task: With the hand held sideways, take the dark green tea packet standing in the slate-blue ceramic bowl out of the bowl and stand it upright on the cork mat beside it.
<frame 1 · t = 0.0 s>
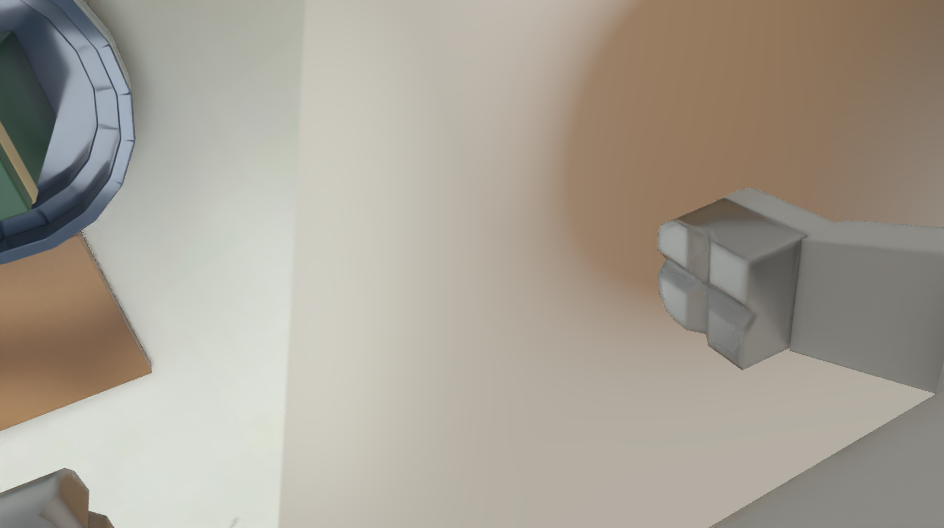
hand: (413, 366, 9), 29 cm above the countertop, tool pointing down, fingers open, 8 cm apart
cork mat: (26, 333, 35), on the countertop
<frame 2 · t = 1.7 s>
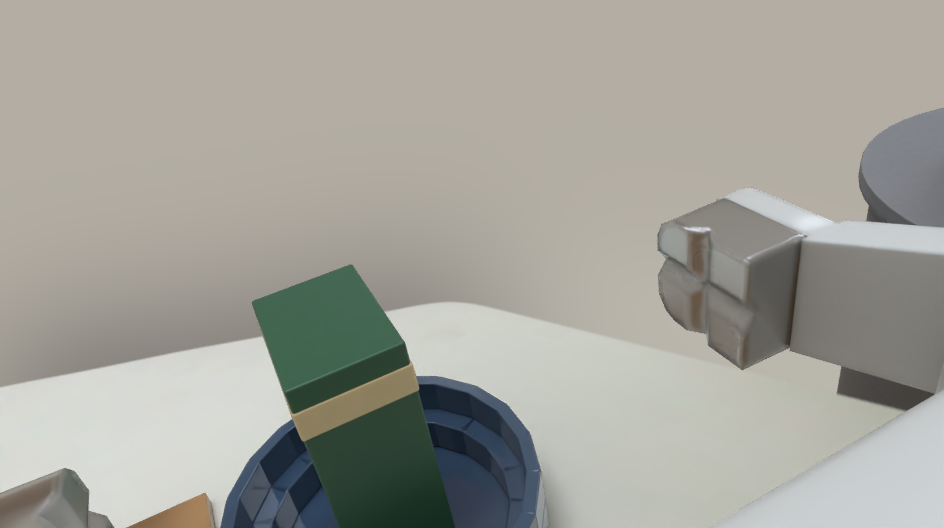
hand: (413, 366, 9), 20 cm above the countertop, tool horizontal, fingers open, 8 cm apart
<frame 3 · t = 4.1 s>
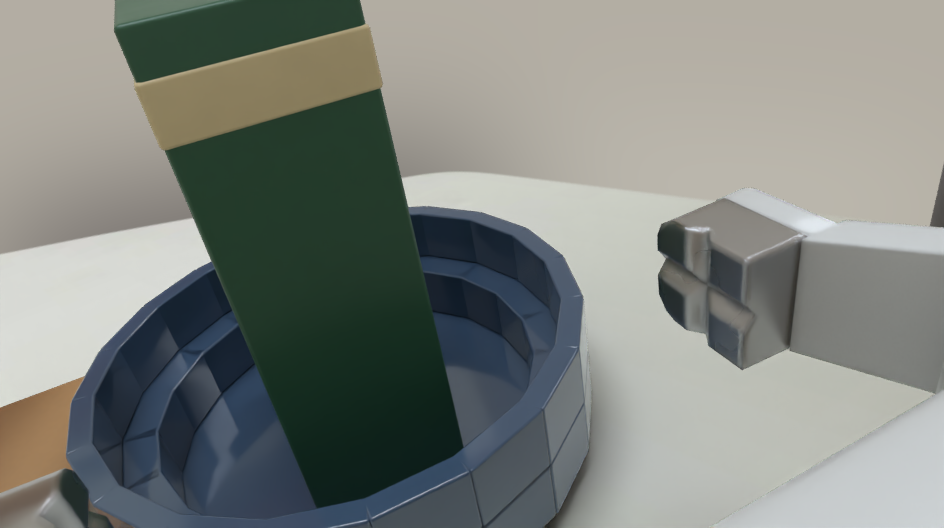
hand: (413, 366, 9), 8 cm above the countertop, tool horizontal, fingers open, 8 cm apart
tea packet: (362, 416, 20), point 1 cm above the countertop, touching bowl
bowl: (367, 430, 20), on the countertop
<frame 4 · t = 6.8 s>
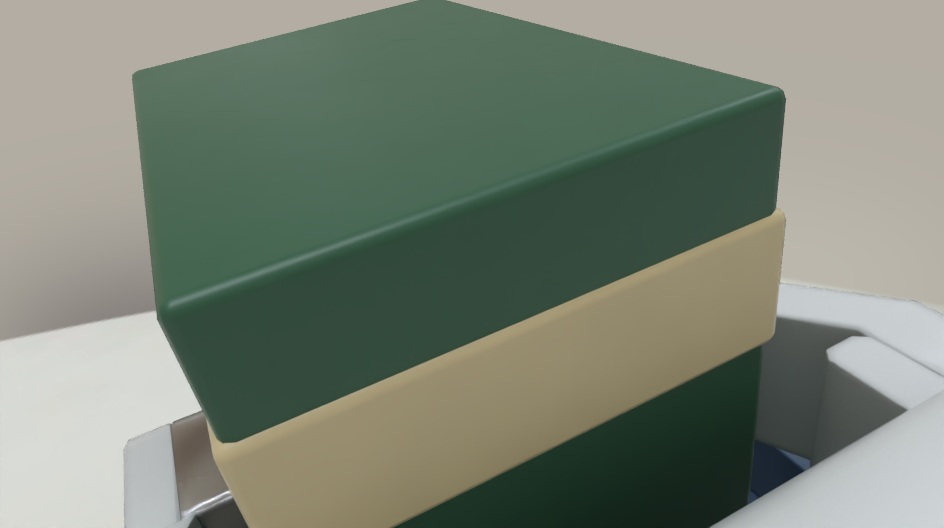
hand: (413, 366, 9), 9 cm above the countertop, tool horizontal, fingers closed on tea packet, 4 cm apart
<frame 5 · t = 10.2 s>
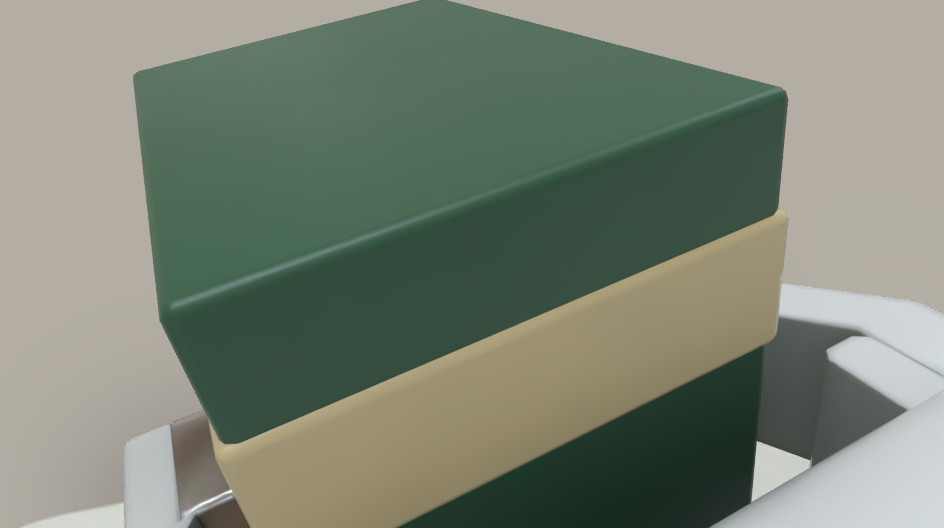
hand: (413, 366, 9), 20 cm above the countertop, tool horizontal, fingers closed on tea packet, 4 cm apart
when the fingers open (9 cm above the countertop, at t = 14.1 s): tea packet stays where it is, resting on cork mat.
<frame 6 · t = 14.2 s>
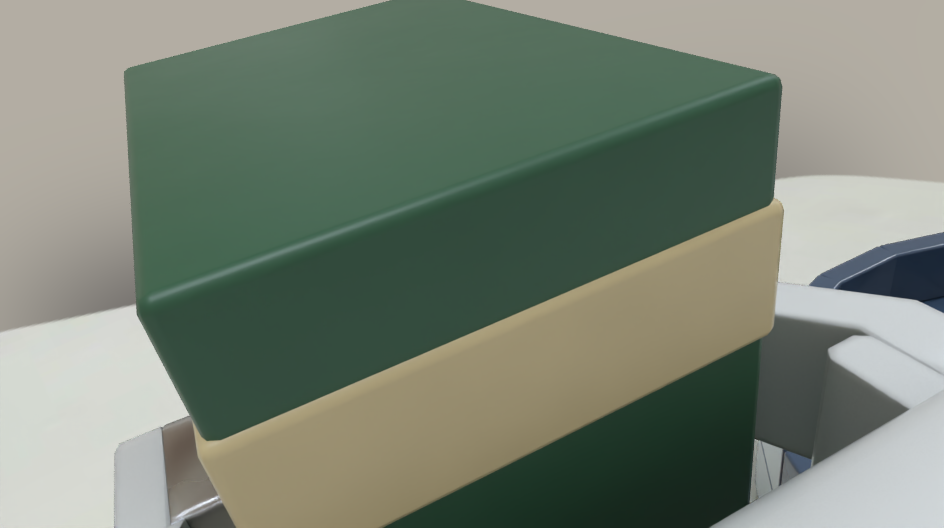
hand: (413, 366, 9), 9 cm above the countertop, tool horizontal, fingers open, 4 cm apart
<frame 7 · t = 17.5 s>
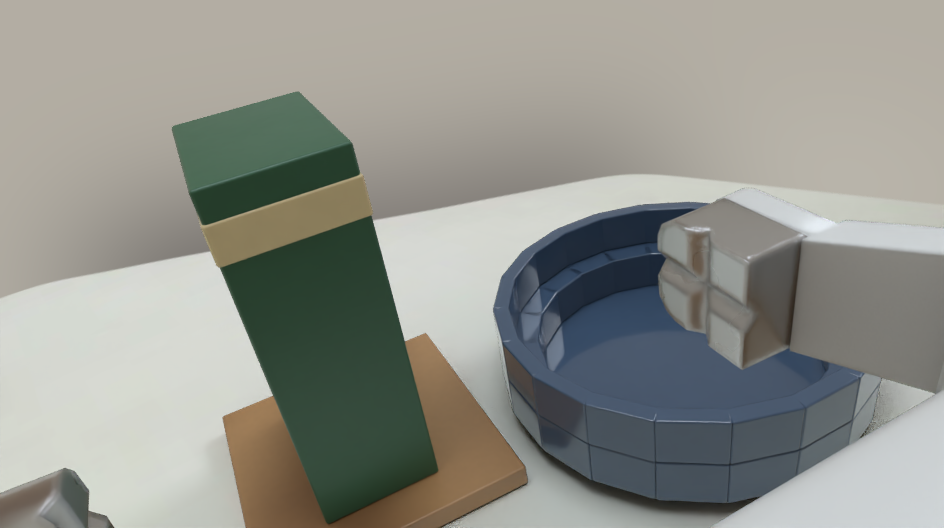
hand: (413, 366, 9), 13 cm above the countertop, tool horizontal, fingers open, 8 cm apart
cork mat: (364, 454, 25), on the countertop
tea packet: (358, 441, 25), point 1 cm above the countertop, touching cork mat
bowl: (676, 372, 26), on the countertop
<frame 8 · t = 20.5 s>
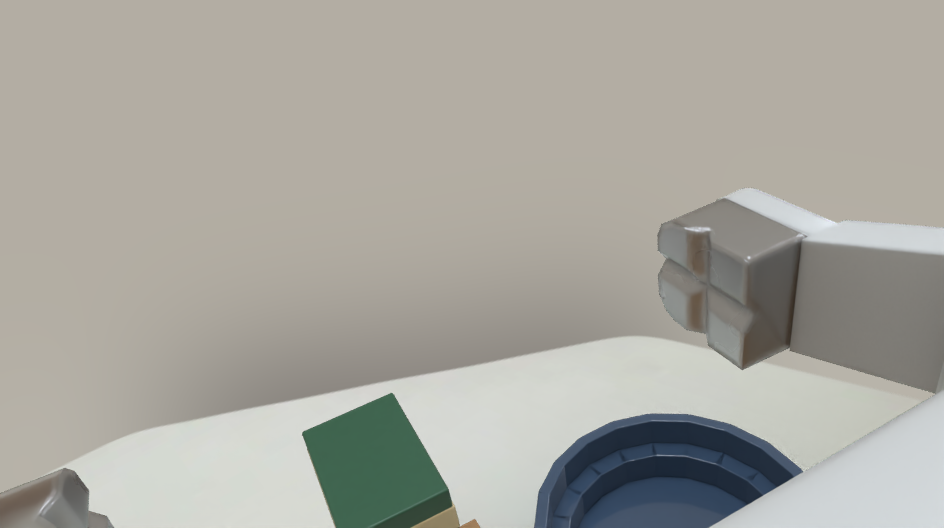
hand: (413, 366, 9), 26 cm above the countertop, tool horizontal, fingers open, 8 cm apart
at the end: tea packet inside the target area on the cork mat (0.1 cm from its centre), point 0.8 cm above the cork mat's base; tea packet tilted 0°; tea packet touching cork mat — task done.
